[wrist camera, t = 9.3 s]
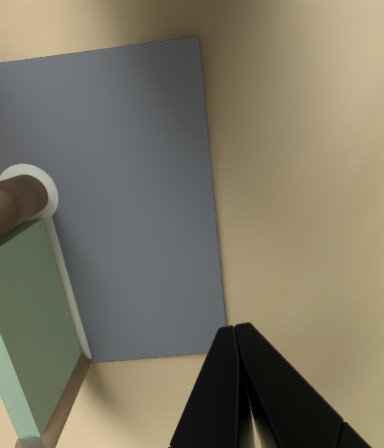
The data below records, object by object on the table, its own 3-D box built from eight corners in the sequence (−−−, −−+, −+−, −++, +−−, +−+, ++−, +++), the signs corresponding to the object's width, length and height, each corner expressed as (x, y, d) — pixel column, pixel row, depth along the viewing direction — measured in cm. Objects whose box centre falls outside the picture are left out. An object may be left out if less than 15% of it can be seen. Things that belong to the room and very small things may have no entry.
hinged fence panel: (48, 218, 18) (-18, 263, 12) (92, 372, 22) (57, 460, 16) (16, 221, 18) (-64, 268, 13) (65, 374, 22) (21, 462, 17)
